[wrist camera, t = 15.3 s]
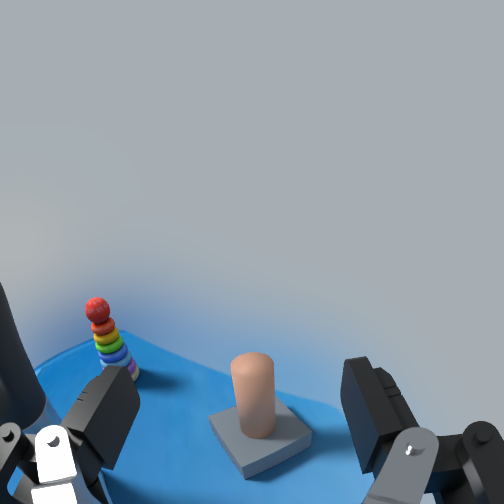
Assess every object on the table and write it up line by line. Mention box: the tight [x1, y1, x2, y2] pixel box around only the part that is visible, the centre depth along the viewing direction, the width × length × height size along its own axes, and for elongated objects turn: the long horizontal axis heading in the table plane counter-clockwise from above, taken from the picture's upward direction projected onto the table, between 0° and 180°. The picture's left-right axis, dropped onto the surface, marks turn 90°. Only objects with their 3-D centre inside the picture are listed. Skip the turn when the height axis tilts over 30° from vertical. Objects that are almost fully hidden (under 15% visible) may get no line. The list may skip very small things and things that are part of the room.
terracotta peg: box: [231, 352, 276, 439], centre depth 33 cm, size 5×5×12 cm
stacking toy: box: [85, 297, 139, 382], centre depth 49 cm, size 8×8×19 cm
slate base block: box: [208, 396, 312, 479], centre depth 35 cm, size 11×11×4 cm
